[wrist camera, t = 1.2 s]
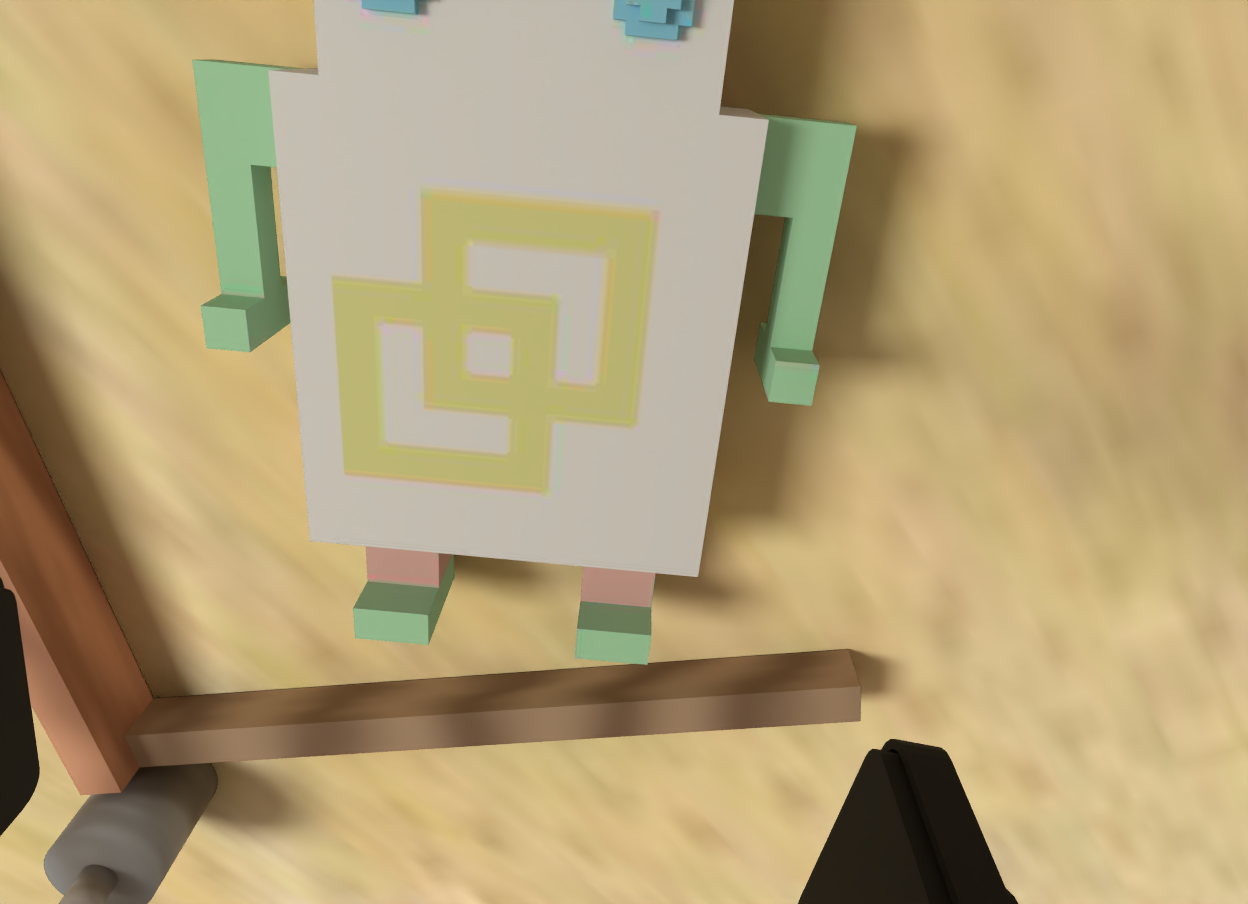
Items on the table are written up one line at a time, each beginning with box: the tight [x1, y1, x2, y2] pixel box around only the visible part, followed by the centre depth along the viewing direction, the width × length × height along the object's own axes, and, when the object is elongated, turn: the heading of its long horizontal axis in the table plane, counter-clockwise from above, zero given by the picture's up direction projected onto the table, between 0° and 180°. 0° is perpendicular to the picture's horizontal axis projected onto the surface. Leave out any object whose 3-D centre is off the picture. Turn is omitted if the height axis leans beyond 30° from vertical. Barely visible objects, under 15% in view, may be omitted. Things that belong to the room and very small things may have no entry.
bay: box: [0, 371, 861, 904], centre depth 30 cm, size 38×46×8 cm
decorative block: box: [193, 0, 857, 665], centre depth 29 cm, size 26×6×20 cm
